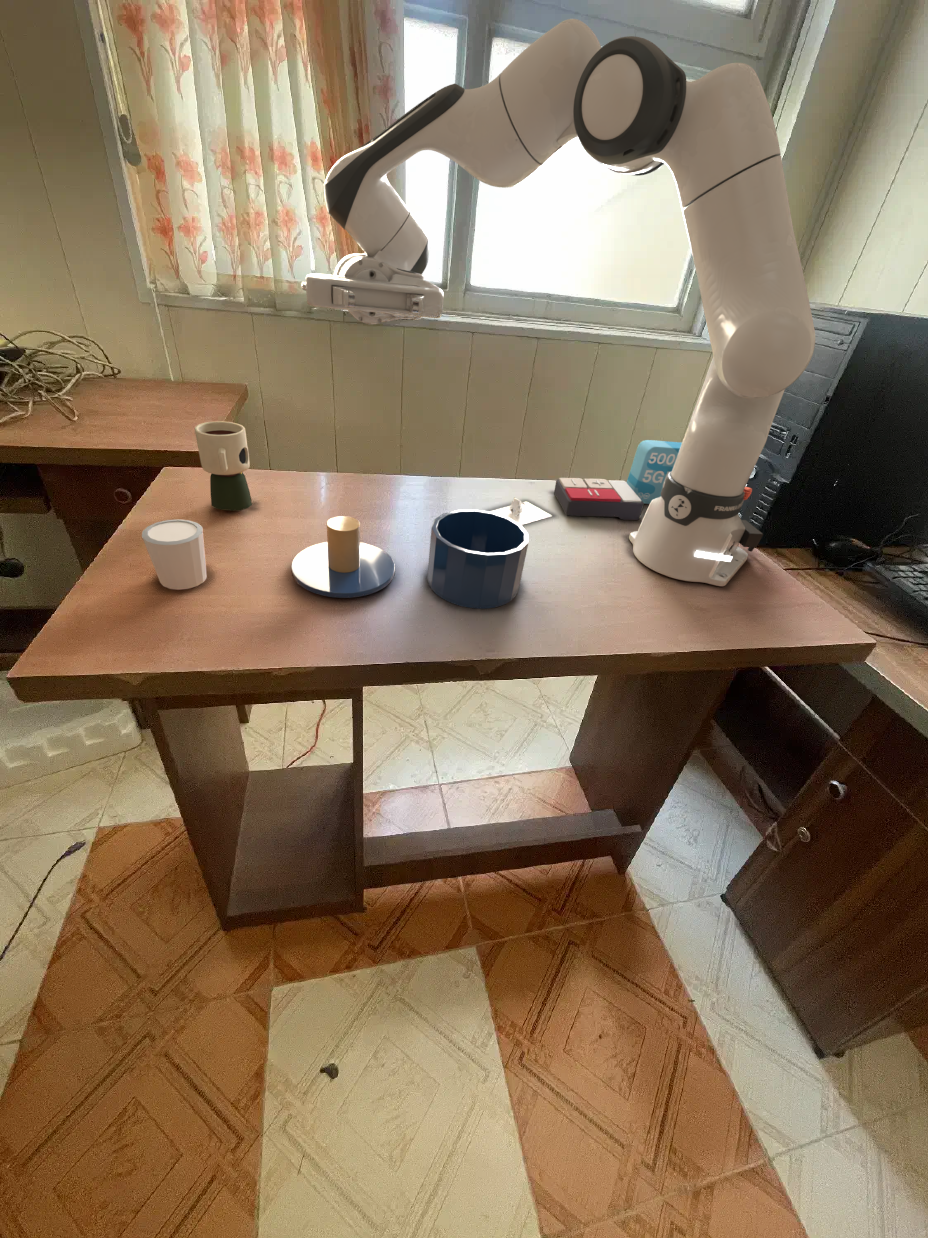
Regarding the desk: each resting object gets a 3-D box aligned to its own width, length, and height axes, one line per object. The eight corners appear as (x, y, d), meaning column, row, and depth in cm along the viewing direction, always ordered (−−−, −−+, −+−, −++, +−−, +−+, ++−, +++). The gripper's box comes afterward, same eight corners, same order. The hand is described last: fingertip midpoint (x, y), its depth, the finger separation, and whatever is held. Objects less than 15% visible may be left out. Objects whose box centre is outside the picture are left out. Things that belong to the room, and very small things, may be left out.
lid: (362, 540, 83) (362, 494, 79) (414, 583, 75) (417, 534, 70) (274, 562, 75) (269, 511, 70) (321, 613, 67) (319, 560, 62)
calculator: (556, 475, 107) (626, 477, 108) (552, 495, 109) (621, 497, 111) (569, 497, 98) (645, 499, 100) (565, 518, 101) (639, 520, 102)
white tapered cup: (159, 597, 66) (145, 548, 61) (150, 570, 70) (137, 523, 66) (217, 585, 69) (208, 538, 65) (205, 560, 73) (196, 515, 69)
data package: (630, 503, 109) (648, 446, 102) (622, 494, 113) (639, 438, 106) (682, 506, 111) (703, 450, 104) (672, 497, 115) (693, 442, 108)
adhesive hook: (506, 512, 98) (509, 496, 96) (516, 509, 100) (519, 494, 98) (517, 518, 97) (520, 503, 95) (527, 516, 98) (530, 500, 96)
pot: (477, 551, 85) (485, 503, 80) (536, 591, 77) (548, 540, 72) (409, 572, 77) (413, 520, 72) (467, 619, 69) (475, 564, 64)
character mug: (256, 520, 84) (245, 440, 77) (207, 522, 82) (191, 439, 74) (254, 492, 92) (245, 417, 85) (210, 493, 90) (196, 416, 82)
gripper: (298, 258, 78) (305, 267, 67) (431, 274, 84) (455, 284, 74) (301, 307, 82) (308, 322, 71) (428, 319, 88) (451, 334, 77)
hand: (384, 303), depth 73 cm, fingers open, 8 cm apart
